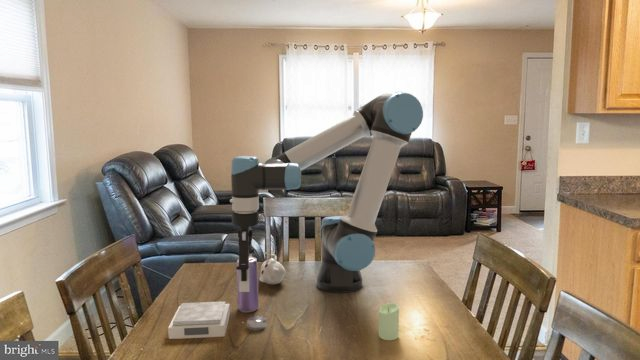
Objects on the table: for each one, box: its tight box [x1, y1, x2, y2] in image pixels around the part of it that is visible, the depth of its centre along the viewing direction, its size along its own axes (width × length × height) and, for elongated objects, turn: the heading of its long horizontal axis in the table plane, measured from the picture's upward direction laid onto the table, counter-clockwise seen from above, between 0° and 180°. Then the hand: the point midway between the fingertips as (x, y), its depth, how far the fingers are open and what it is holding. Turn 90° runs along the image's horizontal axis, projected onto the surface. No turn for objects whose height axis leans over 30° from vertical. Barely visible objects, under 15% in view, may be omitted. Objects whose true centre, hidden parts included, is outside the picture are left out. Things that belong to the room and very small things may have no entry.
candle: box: [378, 302, 400, 341], centre depth 122 cm, size 5×5×8 cm
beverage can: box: [236, 256, 260, 313], centre depth 139 cm, size 6×6×15 cm
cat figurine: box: [258, 253, 286, 285], centre depth 162 cm, size 10×8×15 cm
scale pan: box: [173, 301, 227, 325], centre depth 129 cm, size 12×12×1 cm
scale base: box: [167, 303, 231, 340], centre depth 129 cm, size 14×14×3 cm
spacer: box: [246, 315, 267, 332], centre depth 129 cm, size 5×5×2 cm
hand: (245, 282), depth 139 cm, fingers open, 13 cm apart
